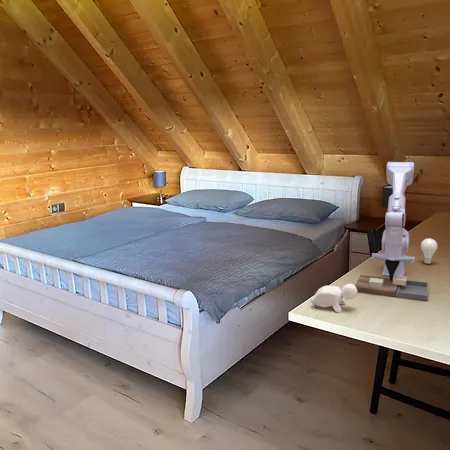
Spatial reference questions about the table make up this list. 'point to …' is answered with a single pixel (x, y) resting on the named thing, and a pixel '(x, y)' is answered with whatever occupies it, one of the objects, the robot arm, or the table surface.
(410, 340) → the table surface
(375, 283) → the tile green
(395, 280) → the tile cream
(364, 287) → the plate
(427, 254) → the lightbulb
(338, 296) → the white turtle figurine
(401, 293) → the box
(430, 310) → the table surface
